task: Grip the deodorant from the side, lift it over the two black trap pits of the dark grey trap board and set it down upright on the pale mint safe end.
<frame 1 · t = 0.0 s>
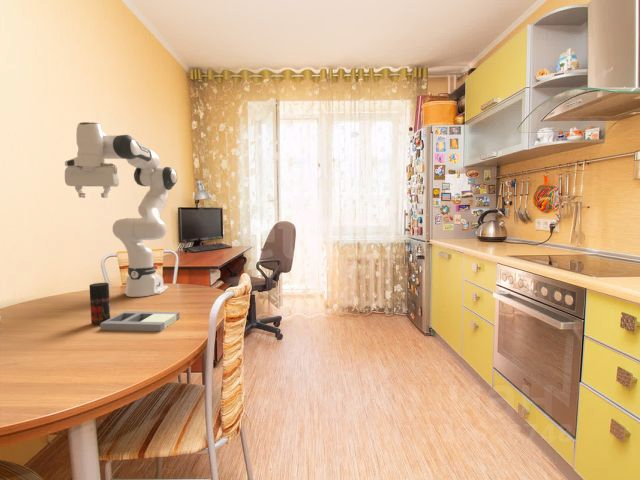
hand: (93, 197, 129), 48 cm above the table, tool pointing down, fingers open, 8 cm apart
deodorant: (101, 323, 120), on the table
trap board: (142, 323, 120), on the table
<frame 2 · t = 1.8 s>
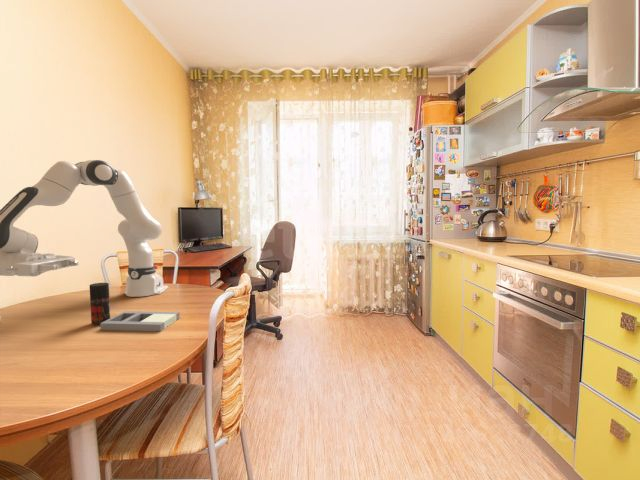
hand: (66, 265, 119), 22 cm above the table, tool horizontal, fingers open, 8 cm apart
nothing on the table moved.
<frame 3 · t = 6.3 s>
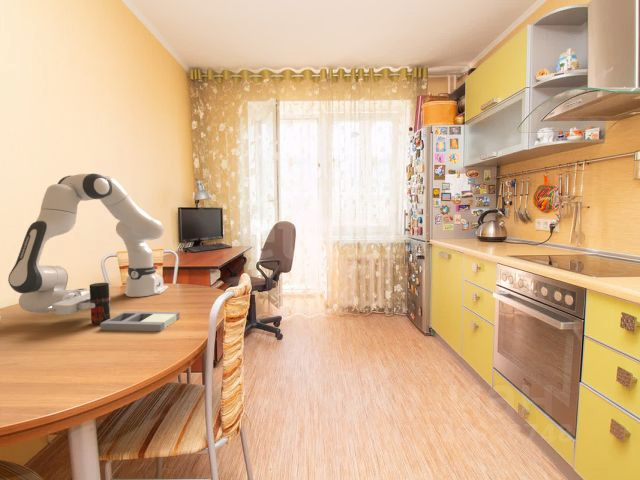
hand: (102, 302, 120), 8 cm above the table, tool horizontal, fingers closed on deodorant, 6 cm apart
deodorant: (101, 323, 120), on the table, touching gripper
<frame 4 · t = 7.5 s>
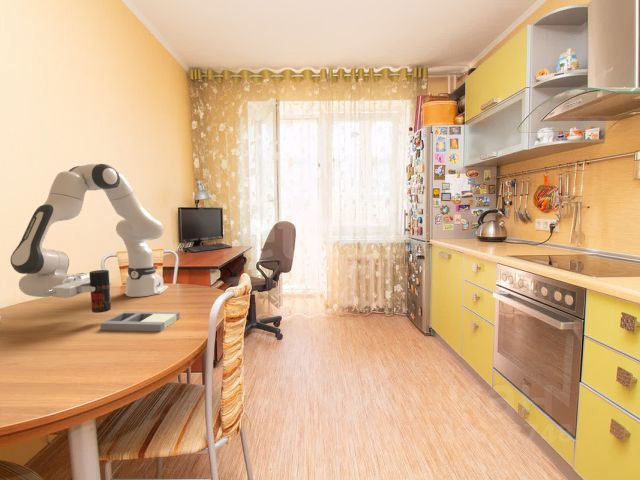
hand: (102, 286, 119), 14 cm above the table, tool horizontal, fingers closed on deodorant, 6 cm apart
deodorant: (101, 310, 120), point 5 cm above the table, touching gripper
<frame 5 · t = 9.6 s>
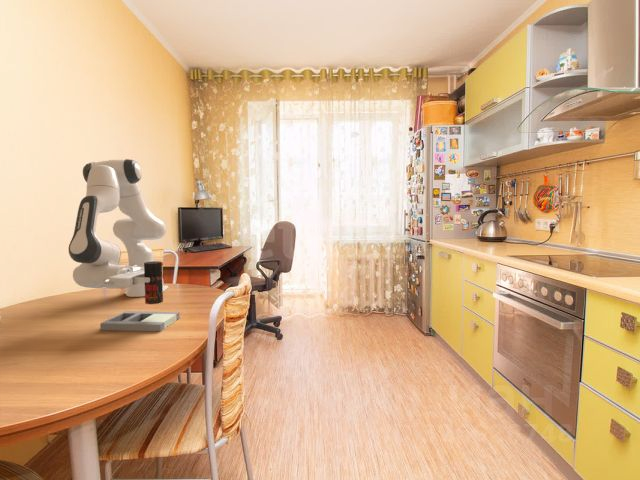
hand: (155, 277, 118), 18 cm above the table, tool horizontal, fingers closed on deodorant, 6 cm apart
deodorant: (154, 302, 119), point 8 cm above the table, touching gripper
when the fingers open (12 cm above the table, at t = 11.8 s): deodorant stays where it is, resting on trap board.
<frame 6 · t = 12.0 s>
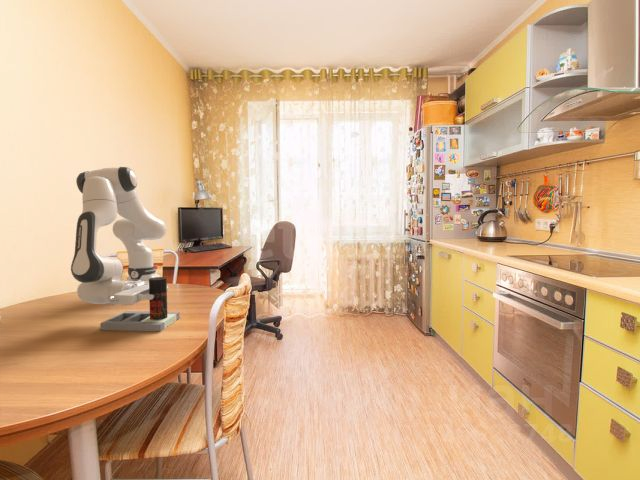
hand: (160, 293, 118), 12 cm above the table, tool horizontal, fingers open, 8 cm apart
deodorant: (158, 318, 119), point 2 cm above the table, touching trap board
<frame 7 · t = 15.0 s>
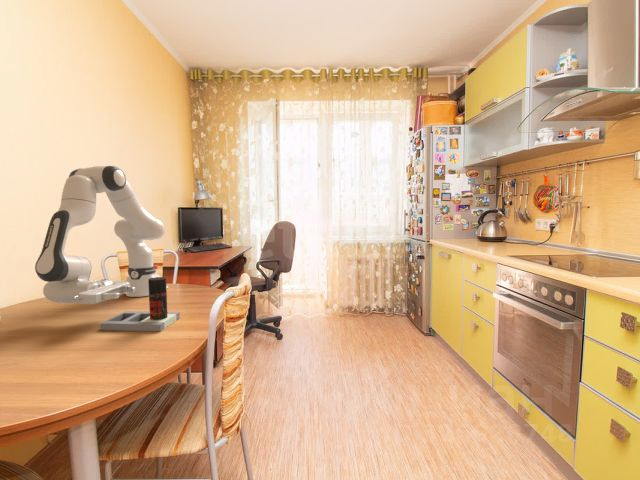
hand: (126, 292, 119), 12 cm above the table, tool horizontal, fingers open, 8 cm apart
nothing on the table moved.
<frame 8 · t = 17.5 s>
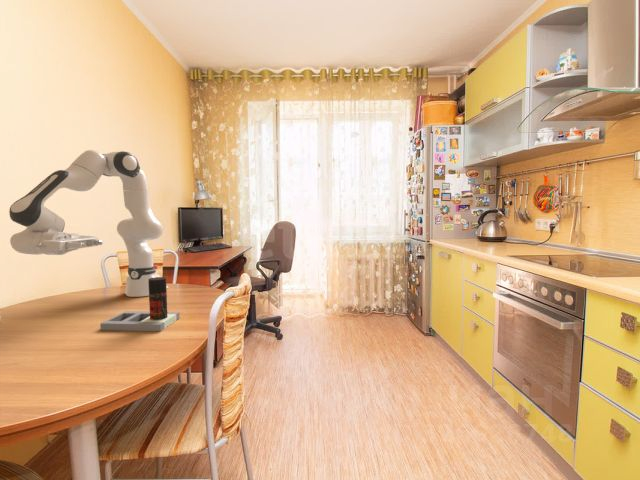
hand: (92, 243, 121), 30 cm above the table, tool horizontal, fingers open, 8 cm apart
nothing on the table moved.
at the end: deodorant inside the target area on the trap board (0.6 cm from its centre), point 2.3 cm above the trap board's base; deodorant tilted 0°; the gripper is holding nothing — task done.
